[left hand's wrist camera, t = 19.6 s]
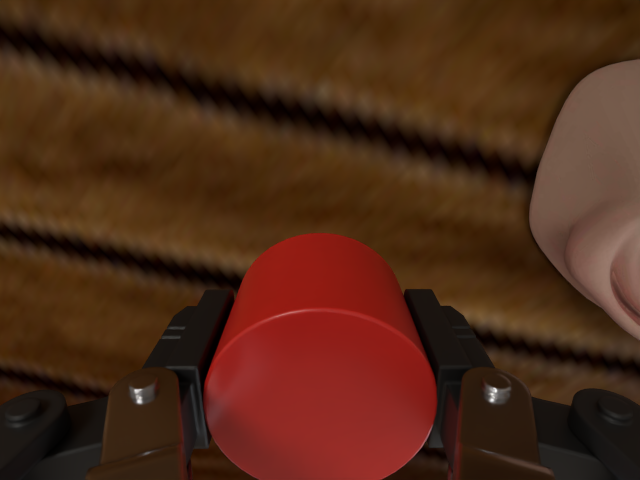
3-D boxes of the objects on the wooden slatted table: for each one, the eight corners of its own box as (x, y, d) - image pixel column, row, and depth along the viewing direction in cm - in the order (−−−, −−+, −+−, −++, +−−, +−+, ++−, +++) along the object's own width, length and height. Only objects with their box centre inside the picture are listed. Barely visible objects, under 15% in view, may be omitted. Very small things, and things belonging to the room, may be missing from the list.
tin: (204, 305, 13) (152, 408, 9) (323, 196, 11) (326, 258, 7) (316, 399, 14) (316, 524, 10) (435, 311, 13) (486, 415, 9)
